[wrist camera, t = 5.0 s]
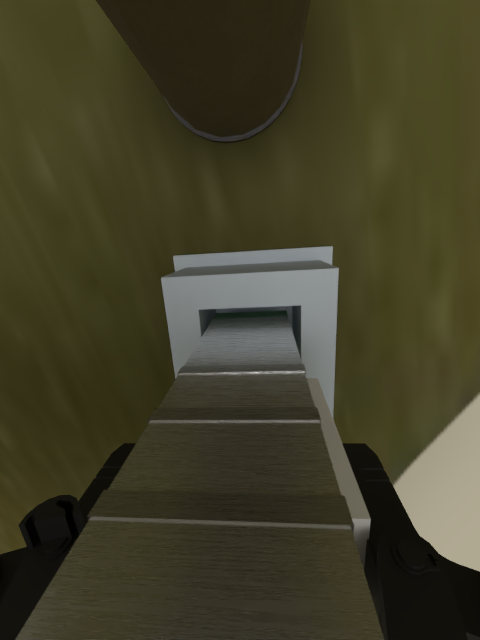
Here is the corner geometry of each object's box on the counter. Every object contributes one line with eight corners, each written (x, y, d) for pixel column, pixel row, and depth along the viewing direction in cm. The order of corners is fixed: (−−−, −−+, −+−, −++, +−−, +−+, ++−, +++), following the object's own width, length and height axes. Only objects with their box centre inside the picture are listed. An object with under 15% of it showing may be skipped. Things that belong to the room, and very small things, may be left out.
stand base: (192, 388, 28) (162, 453, 19) (176, 255, 24) (130, 265, 16) (326, 387, 26) (354, 455, 18) (330, 245, 23) (367, 251, 14)
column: (222, 386, 22) (4, 1177, 3) (214, 299, 20) (-395, 1082, 1) (288, 385, 21) (435, 1303, 3) (286, 296, 19) (707, 1417, 1)
